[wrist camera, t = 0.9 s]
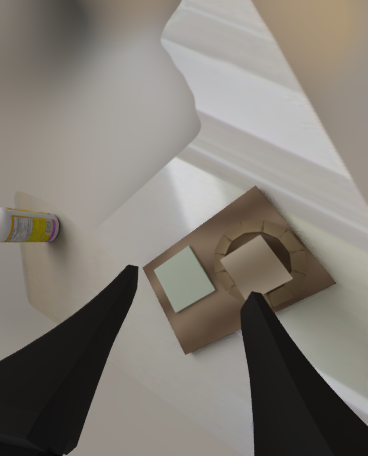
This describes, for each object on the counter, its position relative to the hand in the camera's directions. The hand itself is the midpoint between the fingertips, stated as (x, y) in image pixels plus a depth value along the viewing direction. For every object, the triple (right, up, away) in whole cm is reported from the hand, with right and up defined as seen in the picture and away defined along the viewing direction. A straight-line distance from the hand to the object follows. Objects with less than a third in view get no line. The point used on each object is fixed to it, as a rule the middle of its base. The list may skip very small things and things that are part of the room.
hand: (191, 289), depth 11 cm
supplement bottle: (-31, +4, +31) cm, 44 cm away
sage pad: (-1, -4, +15) cm, 15 cm away
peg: (+9, 0, +11) cm, 14 cm away
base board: (+5, -2, +14) cm, 15 cm away
